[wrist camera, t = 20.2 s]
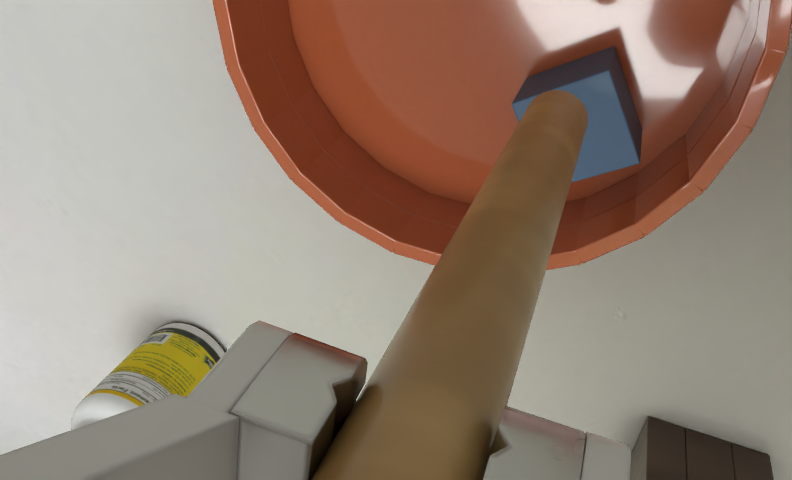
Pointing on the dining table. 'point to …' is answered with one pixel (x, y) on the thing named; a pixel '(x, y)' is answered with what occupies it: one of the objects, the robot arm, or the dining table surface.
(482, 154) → the mixing bowl
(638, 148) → the blue block
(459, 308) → the stirring stick
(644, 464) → the stick holder
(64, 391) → the dining table surface
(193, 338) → the pill bottle
